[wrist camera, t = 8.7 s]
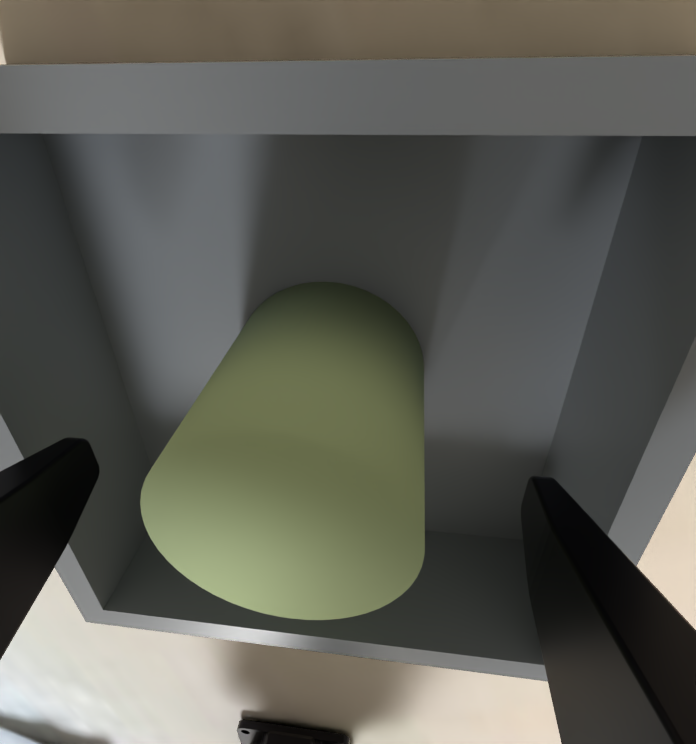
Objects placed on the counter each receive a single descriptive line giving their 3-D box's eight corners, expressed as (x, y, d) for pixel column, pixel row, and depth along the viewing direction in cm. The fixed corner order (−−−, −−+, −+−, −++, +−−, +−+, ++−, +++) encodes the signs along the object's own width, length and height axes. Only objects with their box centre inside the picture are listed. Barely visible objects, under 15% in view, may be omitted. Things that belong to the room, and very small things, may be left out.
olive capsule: (417, 445, 14) (414, 633, 9) (251, 432, 15) (174, 604, 10) (431, 285, 11) (437, 444, 7) (226, 277, 12) (103, 418, 7)
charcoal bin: (539, 542, 16) (574, 684, 13) (155, 505, 18) (85, 621, 14) (698, 54, 9) (904, 53, 5) (4, 64, 10) (-231, 68, 7)
